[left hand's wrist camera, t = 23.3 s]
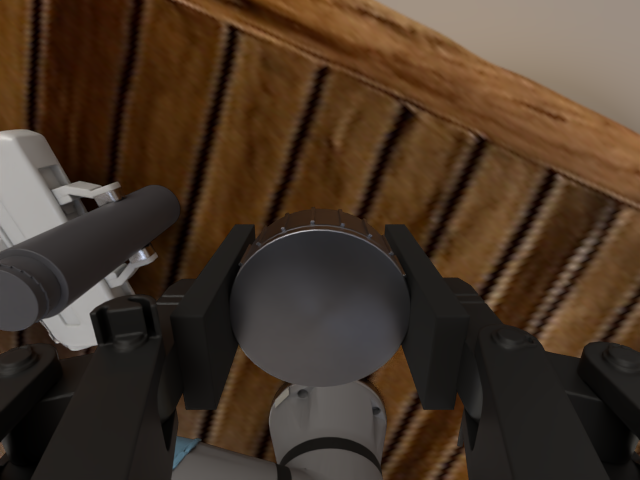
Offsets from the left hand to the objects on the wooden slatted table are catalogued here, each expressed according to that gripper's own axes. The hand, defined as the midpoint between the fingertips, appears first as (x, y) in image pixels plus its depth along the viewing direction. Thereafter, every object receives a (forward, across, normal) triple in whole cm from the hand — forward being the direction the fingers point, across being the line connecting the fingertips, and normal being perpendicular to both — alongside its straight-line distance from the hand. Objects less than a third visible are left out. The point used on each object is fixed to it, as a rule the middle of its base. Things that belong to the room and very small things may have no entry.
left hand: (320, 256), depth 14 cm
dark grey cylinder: (+23, +17, +4) cm, 29 cm away
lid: (-4, 0, 0) cm, 4 cm away
